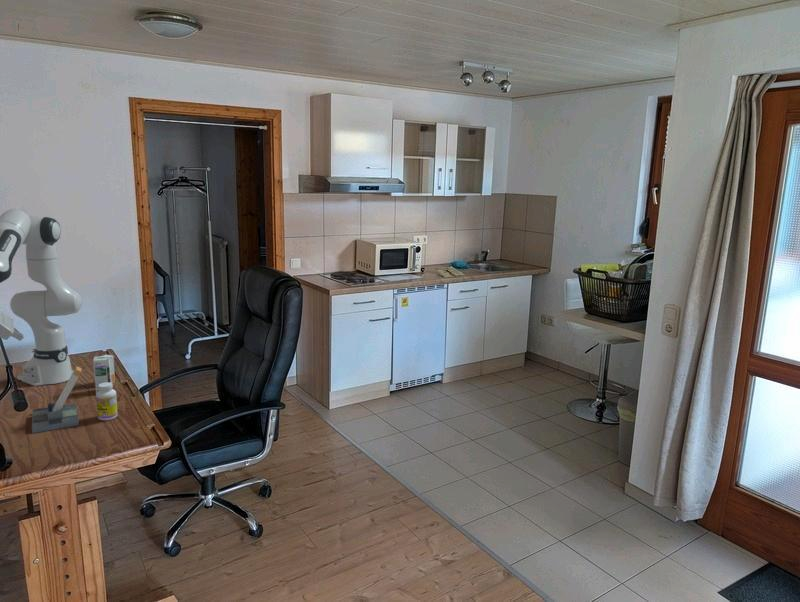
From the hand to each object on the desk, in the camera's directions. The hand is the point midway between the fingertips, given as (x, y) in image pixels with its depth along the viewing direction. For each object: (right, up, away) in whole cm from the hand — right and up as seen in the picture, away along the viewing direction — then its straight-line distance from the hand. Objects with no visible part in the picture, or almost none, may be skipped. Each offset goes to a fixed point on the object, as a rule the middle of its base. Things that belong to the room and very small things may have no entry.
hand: (22, 338), depth 197 cm
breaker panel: (+6, -30, +9) cm, 32 cm away
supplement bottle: (+23, -30, +14) cm, 40 cm away
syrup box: (+8, -25, +39) cm, 47 cm away
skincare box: (+5, -23, +47) cm, 53 cm away
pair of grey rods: (0, -28, +19) cm, 34 cm away
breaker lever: (+6, -27, +9) cm, 29 cm away
